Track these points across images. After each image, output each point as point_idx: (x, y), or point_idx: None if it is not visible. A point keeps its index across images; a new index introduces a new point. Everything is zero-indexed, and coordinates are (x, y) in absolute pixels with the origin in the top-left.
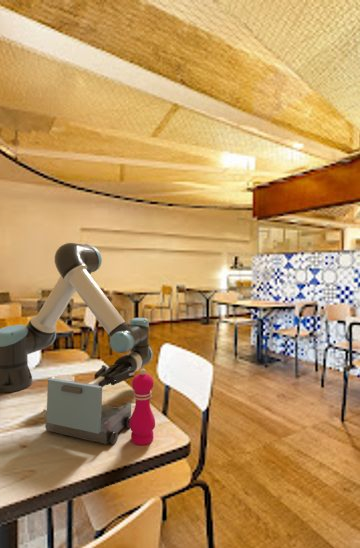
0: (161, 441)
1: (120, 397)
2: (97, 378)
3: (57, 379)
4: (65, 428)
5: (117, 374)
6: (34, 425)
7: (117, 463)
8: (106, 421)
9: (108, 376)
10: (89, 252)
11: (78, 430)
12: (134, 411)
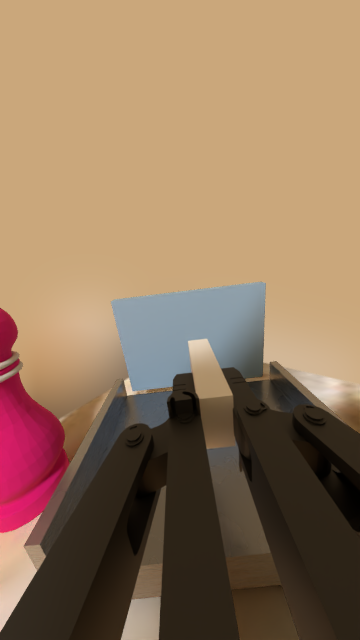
0: None
1: None
2: (217, 371)
3: (244, 285)
4: None
5: (99, 545)
6: (343, 414)
7: (97, 402)
8: (119, 384)
9: (169, 411)
10: None
11: None
12: (35, 403)
